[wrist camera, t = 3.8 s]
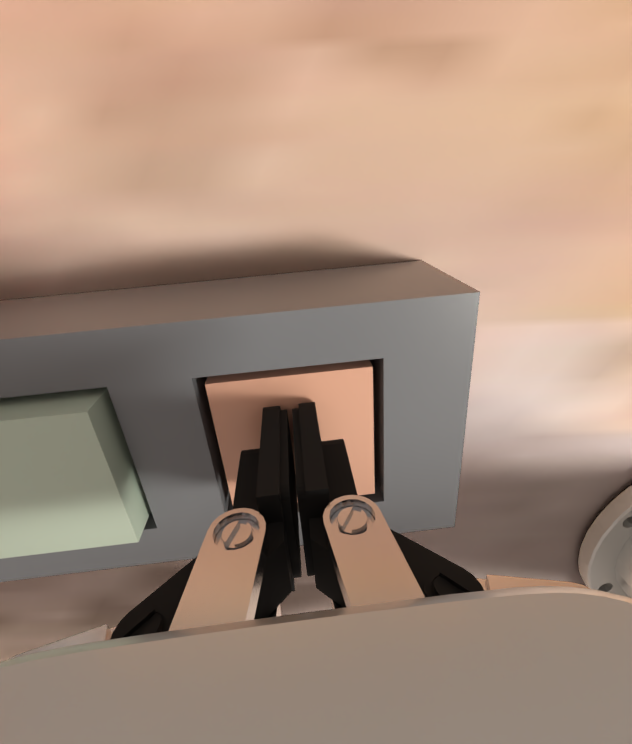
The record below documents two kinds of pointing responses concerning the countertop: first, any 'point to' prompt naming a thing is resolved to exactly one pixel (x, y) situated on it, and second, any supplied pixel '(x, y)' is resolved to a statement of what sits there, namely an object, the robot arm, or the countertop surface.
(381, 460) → the keypad
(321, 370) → the terracotta key
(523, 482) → the countertop surface
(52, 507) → the sage key
